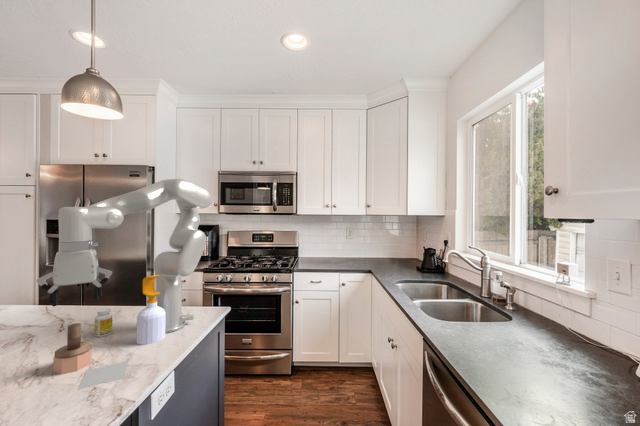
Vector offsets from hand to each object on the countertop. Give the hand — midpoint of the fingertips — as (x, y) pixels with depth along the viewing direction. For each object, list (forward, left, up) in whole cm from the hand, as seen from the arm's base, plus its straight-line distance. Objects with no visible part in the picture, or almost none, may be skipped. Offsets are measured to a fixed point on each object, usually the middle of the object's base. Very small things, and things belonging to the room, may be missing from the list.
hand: (77, 301), depth 82 cm
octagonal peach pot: (+1, 0, -20) cm, 20 cm away
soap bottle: (-20, -9, -20) cm, 29 cm away
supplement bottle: (-3, -24, -20) cm, 31 cm away
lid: (0, 0, -15) cm, 15 cm away
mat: (-8, +10, -20) cm, 24 cm away
